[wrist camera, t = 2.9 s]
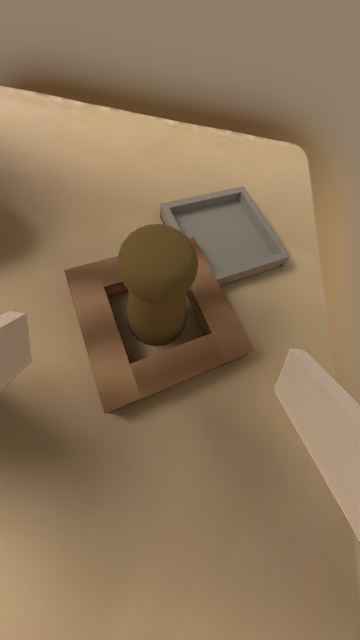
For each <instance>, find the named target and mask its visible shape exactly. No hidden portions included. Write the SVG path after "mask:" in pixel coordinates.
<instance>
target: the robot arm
mask: <svg viewBox="0 0 360 640" xmlns="http://www.w3.org/2000/svg"><path fill="white" fill-rule="evenodd" d="M31 362H32V358H31V350H30V342H29V334H28V325H27V317H26V313H21V312H14V311H8V312H6V313H4V314H2V315H0V391H1V390H2V389H3V388H4V387H5V386H6V385H7V384H8V383H9V382H11V381H12V380H13V379H14V378H15V377H16V376H17V375H18V374H19V373H20V372H21V371H22V370H24V369H25V368H26V367H27V366H28V365H29V364H30V363H31ZM274 392H275V394H276V396H277V398H278V399H279V401H280V403H281V405H282V406H283V408H284V410H285V412H286V413H287V415H288V417H289V419H290V420H291V422H292V424H293V426H294V427H295V429H296V431H297V433H298V434H299V436H300V438H301V440H302V441H303V443H304V445H305V447H306V448H307V450H308V452H309V454H310V455H311V457H312V459H313V461H314V462H315V464H316V466H317V468H318V469H319V471H320V473H321V475H322V476H323V478H324V480H325V482H326V483H327V485H328V487H329V489H330V490H331V492H332V494H333V496H334V497H335V499H336V501H337V503H338V504H339V506H340V508H341V510H342V511H343V513H344V515H345V517H346V518H347V520H348V522H349V524H350V525H351V527H352V529H353V531H354V532H355V534H356V536H357V538H358V539H359V541H360V405H359V404H358V403H357V402H356V401H355V400H354V399H353V398H352V397H351V396H350V395H349V394H348V393H347V392H346V391H345V390H344V389H343V388H342V387H341V386H340V385H339V384H338V383H337V382H336V381H335V380H334V379H333V378H332V377H331V376H330V375H329V374H328V373H327V372H326V371H325V370H324V369H323V368H322V367H321V366H320V365H319V364H318V363H317V362H316V361H315V360H314V359H313V358H312V357H311V356H310V355H309V354H308V353H307V352H306V351H305V350H302V349H294V348H290V349H289V352H288V354H287V357H286V359H285V362H284V365H283V367H282V370H281V373H280V375H279V378H278V380H277V383H276V386H275V388H274Z"/></svg>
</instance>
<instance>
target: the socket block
mask: <svg viewBox="0 0 360 640" xmlns="http://www.w3.org/2000/svg"><path fill="white" fill-rule="evenodd" d="M188 239H189V240H190V242H191V243H192V245H193V246H194V248H195V250H196V254H197V258H198V269H197V275H196V278H195V281H194V282H193V284H192V286H191V288H190V289H189V290H188V291H187V292H186V294H187V297H188V299H189V301H190V303H191V305H192V307H193V309H194V312H195V314H196V316H197V318H198V320H199V322H200V324H201V327H202V329H203V331H204V333H205V336H202V337H200V338H197V339H194V340H192V341H189V342H186V343H184V344H181V345H178V346H176V347H173V348H171V349H168V350H165V351H163V352H160V353H157V354H155V355H152V356H149V357H147V358H144V359H141V360H139V361H136V362H133V363H131V364H130V361H129V358H128V355H127V352H126V349H125V346H124V343H123V341H122V338H121V335H120V332H119V329H118V326H117V323H116V320H115V317H114V314H113V311H112V308H111V305H110V302H109V299H108V296H111V295H114V294H118V293H121V292H124V291H128V289H127V288H126V286H125V285H124V283H123V281H122V279H121V277H120V274H119V269H118V256H117V257H114V258H110V259H106V260H102V261H98V262H94V263H90V264H87V265H83V266H79V267H75V268H71V269H67V270H65V274H66V277H67V281H68V285H69V288H70V292H71V295H72V299H73V302H74V306H75V309H76V313H77V316H78V320H79V324H80V327H81V331H82V334H83V338H84V341H85V345H86V348H87V352H88V356H89V359H90V363H91V366H92V370H93V373H94V377H95V380H96V384H97V387H98V391H99V395H100V398H101V402H102V405H103V409H104V412H105V413H110V412H113V411H115V410H118V409H120V408H122V407H125V406H127V405H129V404H132V403H134V402H137V401H139V400H141V399H144V398H146V397H149V396H151V395H153V394H156V393H158V392H160V391H163V390H165V389H168V388H170V387H172V386H175V385H177V384H179V383H182V382H184V381H187V380H189V379H191V378H194V377H196V376H198V375H201V374H203V373H206V372H208V371H210V370H213V369H215V368H217V367H220V366H222V365H225V364H227V363H229V362H232V361H234V360H237V359H239V358H241V357H244V356H246V355H248V354H249V353H251V352H253V351H254V350H253V348H252V346H251V344H250V342H249V340H248V338H247V336H246V335H245V333H244V331H243V329H242V327H241V325H240V323H239V321H238V319H237V317H236V316H235V314H234V312H233V310H232V308H231V306H230V304H229V302H228V300H227V298H226V297H225V295H224V293H223V291H222V289H221V287H220V285H219V283H218V281H217V279H216V278H215V276H214V274H213V272H212V270H211V268H210V266H209V264H208V262H207V260H206V259H205V257H204V255H203V253H202V251H201V249H200V247H199V245H198V243H197V242H196V240H195V238H194V237H191V238H188Z"/></svg>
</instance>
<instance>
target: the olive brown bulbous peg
mask: <svg viewBox="0 0 360 640" xmlns="http://www.w3.org/2000/svg"><path fill="white" fill-rule="evenodd" d="M118 269H119V274H120V277H121V279H122V281H123V283H124V285H125V286H126V288H127V289H128V290H129V295H128V312H127V320H128V326H129V328H130V331H131V333H132V334H133V335H134V336H135V337H136V338H137V339H138V340H139V341H141V342H143V343H145V344H148V345H154V346H159V345H166V344H168V343H170V342H172V341H174V340H175V339H176V338H177V337H178V336H179V335H180V334H181V332H182V331H183V329H184V327H185V320H186V292H187V291H188V290H189V289H190V288H191V286H192V284H193V282H194V281H195V278H196V275H197V269H198V258H197V254H196V250H195V248H194V246H193V245H192V243H191V242H190V240H189V239H188V237H187V236H185V235H184V234H183V233H182V232H181V231H179V230H177V229H175V228H173V227H171V226H166V225H161V224H154V225H147V226H144V227H140V228H138V229H137V230H135V231H134V232H132V233H131V234H130V235H129V236H128V237H127V239H126V240H125V241H124V242H123V244H122V245H121V249H120V252H119V255H118Z"/></svg>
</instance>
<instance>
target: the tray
mask: <svg viewBox="0 0 360 640" xmlns="http://www.w3.org/2000/svg"><path fill="white" fill-rule="evenodd" d="M160 217H161V219H162V221H163V223H164V225H166V226H171V227H173V228H175V229H177V230H179V231H181V232H182V233H183V234H184V235H185V236H187V237H188V238H191V237H194V238H195V240H196V242H197V243H198V245H199V247H200V249H201V251H202V253H203V255H204V257H205V259H206V260H207V262H208V264H209V266H210V268H211V270H212V272H213V274H214V276H215V278H216V279H217V281H218V283H219V285H220V286H221V285H224V284H227V283H230V282H233V281H236V280H239V279H242V278H245V277H248V276H252V275H255V274H258V273H261V272H264V271H267V270H270V269H273V268H276V267H279V266H282V265H283V264H284V263H285V262H286V261H287V260H288V259H289V257H290V255H289V253H288V252H287V250H286V249H285V247H284V246H283V244H282V243H281V241H280V240H279V238H278V237H277V235H276V234H275V232H274V231H273V229H272V228H271V226H270V225H269V224H268V222H267V221H266V219H265V218H264V216H263V215H262V213H261V212H260V210H259V209H258V207H257V206H256V204H255V203H254V201H253V200H252V198H251V197H250V195H249V194H248V192H247V191H246V189H245V188H244V187H239V188H234V189H230V190H225V191H220V192H216V193H211V194H206V195H201V196H197V197H192V198H187V199H183V200H178V201H173V202H169V203H164V204H160Z"/></svg>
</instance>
